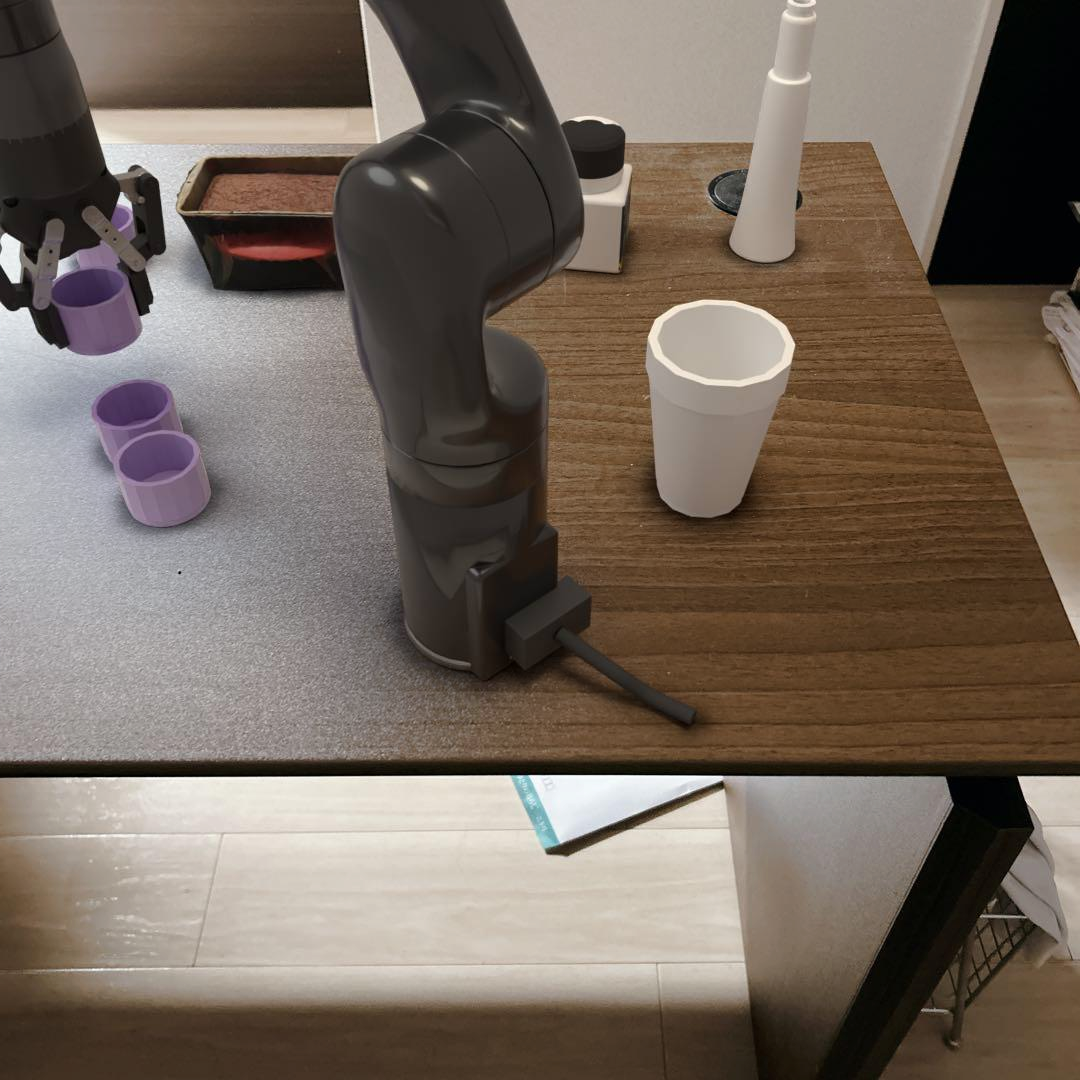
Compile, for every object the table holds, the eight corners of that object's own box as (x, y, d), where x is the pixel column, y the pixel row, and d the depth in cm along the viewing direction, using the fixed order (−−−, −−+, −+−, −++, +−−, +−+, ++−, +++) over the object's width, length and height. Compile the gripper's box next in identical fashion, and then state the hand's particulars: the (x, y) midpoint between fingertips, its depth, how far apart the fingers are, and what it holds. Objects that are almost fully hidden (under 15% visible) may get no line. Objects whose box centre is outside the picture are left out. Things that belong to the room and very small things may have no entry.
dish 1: (156, 335, 84) (142, 289, 82) (83, 366, 82) (66, 319, 79) (121, 302, 88) (106, 257, 85) (50, 331, 85) (32, 285, 82)
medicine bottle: (620, 275, 101) (628, 149, 93) (541, 268, 102) (542, 142, 94) (628, 233, 106) (636, 110, 98) (553, 227, 107) (555, 104, 98)
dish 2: (198, 447, 85) (187, 406, 82) (128, 481, 83) (113, 440, 80) (162, 410, 88) (150, 369, 85) (92, 442, 86) (77, 400, 83)
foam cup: (728, 433, 86) (751, 288, 77) (789, 512, 80) (822, 365, 71) (615, 463, 84) (624, 317, 75) (669, 547, 78) (687, 400, 69)
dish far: (156, 261, 103) (145, 221, 100) (96, 284, 100) (83, 244, 97) (127, 235, 106) (115, 196, 103) (68, 257, 103) (55, 218, 100)
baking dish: (238, 226, 111) (198, 133, 103) (413, 209, 108) (385, 113, 100) (197, 320, 102) (151, 227, 94) (387, 306, 99) (355, 207, 91)
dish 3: (225, 501, 81) (214, 460, 78) (152, 539, 79) (137, 498, 76) (186, 460, 84) (174, 419, 81) (114, 495, 82) (99, 454, 79)
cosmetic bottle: (784, 269, 102) (830, 20, 86) (720, 254, 104) (754, 8, 88) (801, 236, 106) (848, -8, 90) (739, 223, 108) (774, -19, 92)
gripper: (-65, 164, 67) (29, 389, 79) (155, 94, 74) (211, 311, 86) (-109, 121, 71) (-13, 342, 83) (104, 58, 78) (164, 271, 90)
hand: (101, 325), depth 84 cm, fingers closed on dish 1, 6 cm apart
